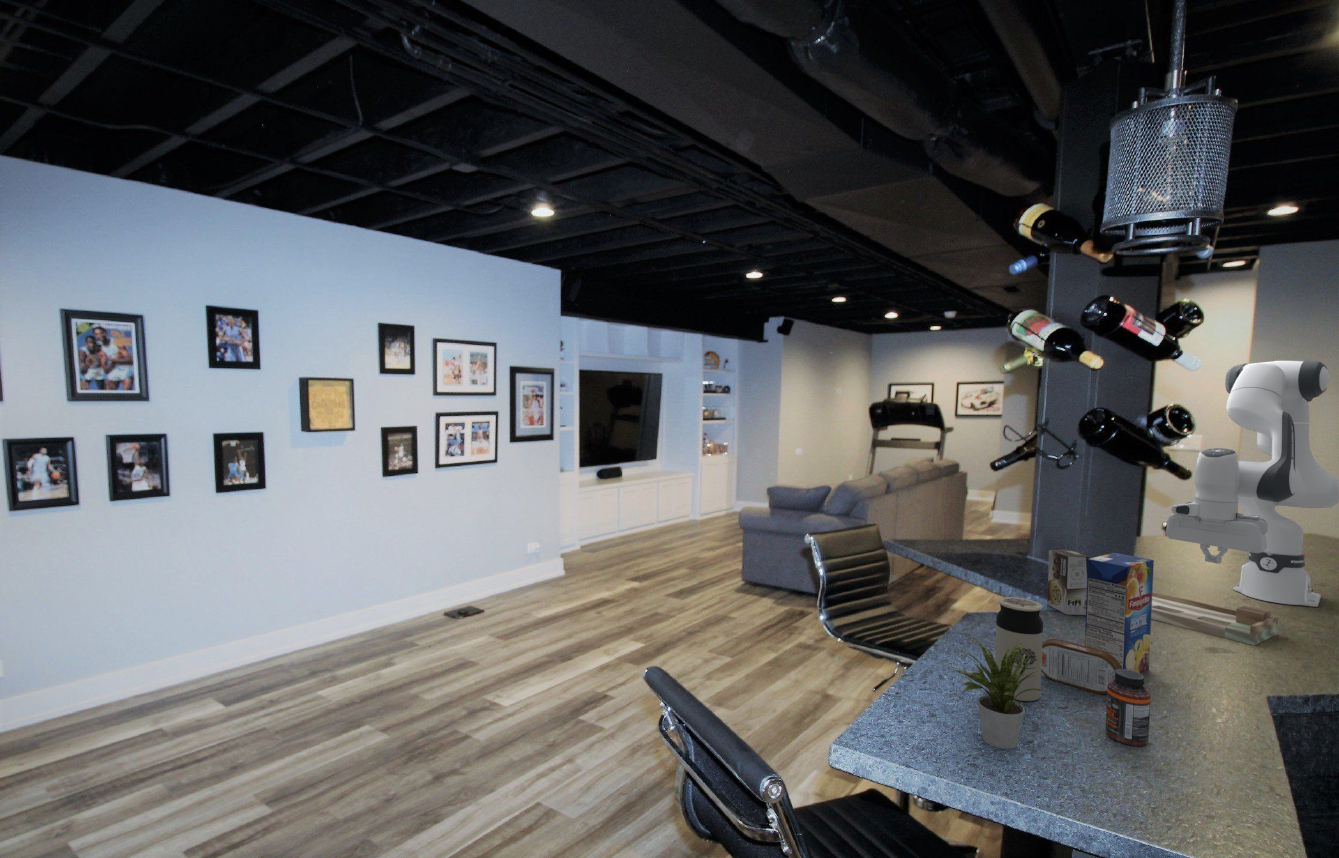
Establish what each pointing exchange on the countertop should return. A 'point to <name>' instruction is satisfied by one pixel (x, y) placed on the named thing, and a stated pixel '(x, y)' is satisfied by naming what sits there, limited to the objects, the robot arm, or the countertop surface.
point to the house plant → (999, 698)
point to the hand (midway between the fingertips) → (1213, 562)
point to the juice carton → (1120, 608)
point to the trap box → (1210, 619)
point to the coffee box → (1067, 581)
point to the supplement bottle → (1128, 708)
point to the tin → (1078, 665)
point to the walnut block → (1251, 615)
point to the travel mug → (1021, 641)
